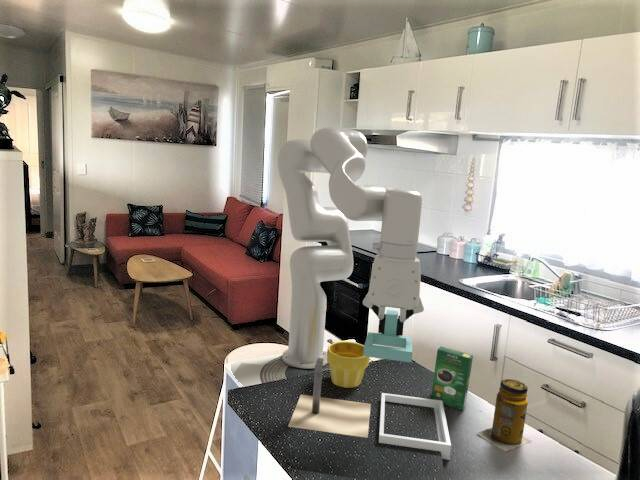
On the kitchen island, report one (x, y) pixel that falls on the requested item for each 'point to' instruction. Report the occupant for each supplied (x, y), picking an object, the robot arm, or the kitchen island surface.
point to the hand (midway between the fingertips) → (390, 336)
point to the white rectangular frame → (440, 445)
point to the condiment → (508, 416)
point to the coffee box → (451, 377)
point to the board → (332, 416)
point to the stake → (317, 386)
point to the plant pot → (347, 363)
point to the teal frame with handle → (389, 342)
